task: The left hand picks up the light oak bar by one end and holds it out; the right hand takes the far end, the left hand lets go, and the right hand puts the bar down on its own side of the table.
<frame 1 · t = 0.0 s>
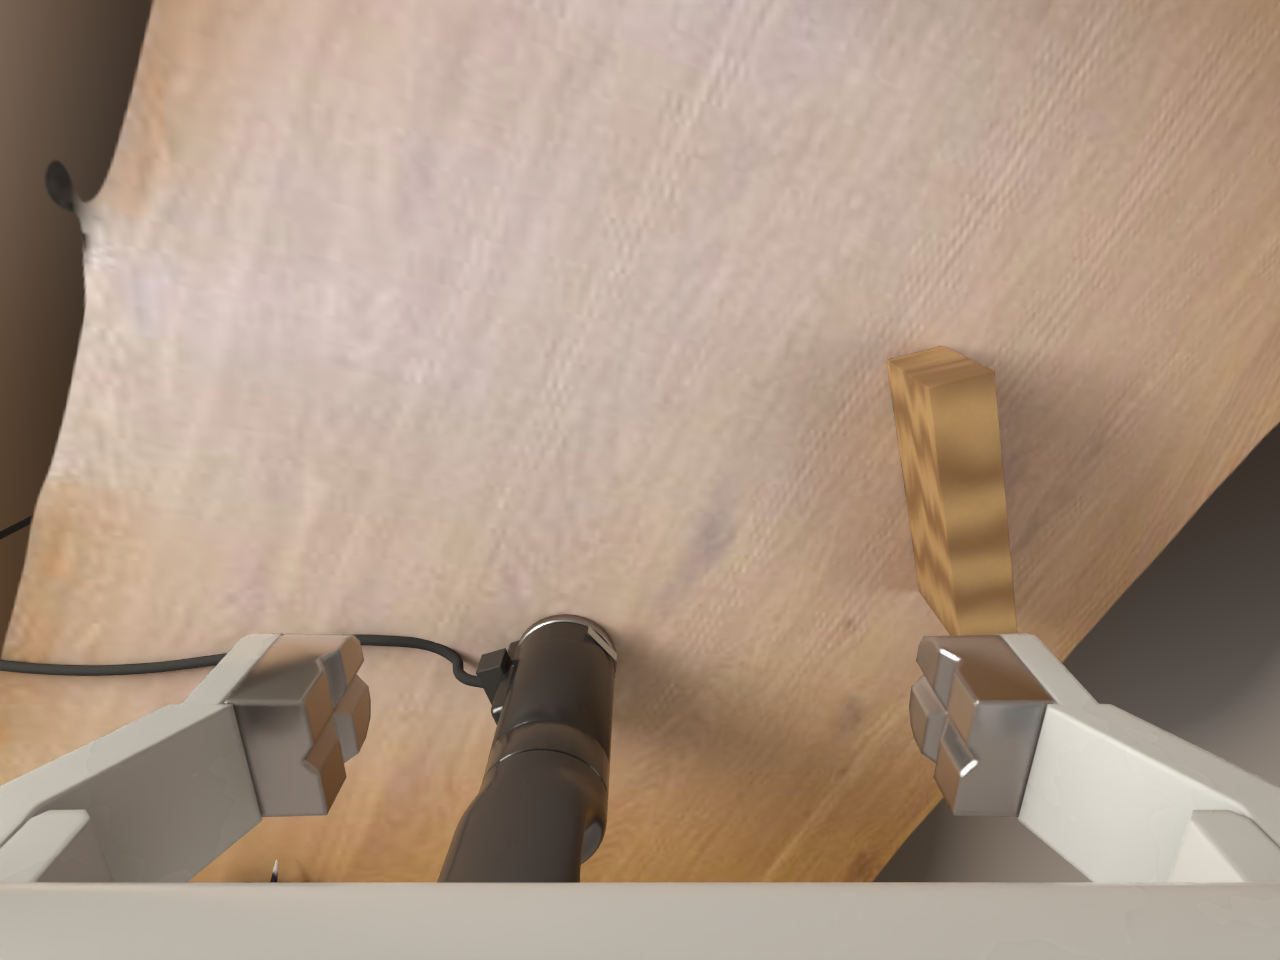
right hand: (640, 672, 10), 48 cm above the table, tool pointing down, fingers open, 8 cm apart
bar: (930, 477, 61), on the table
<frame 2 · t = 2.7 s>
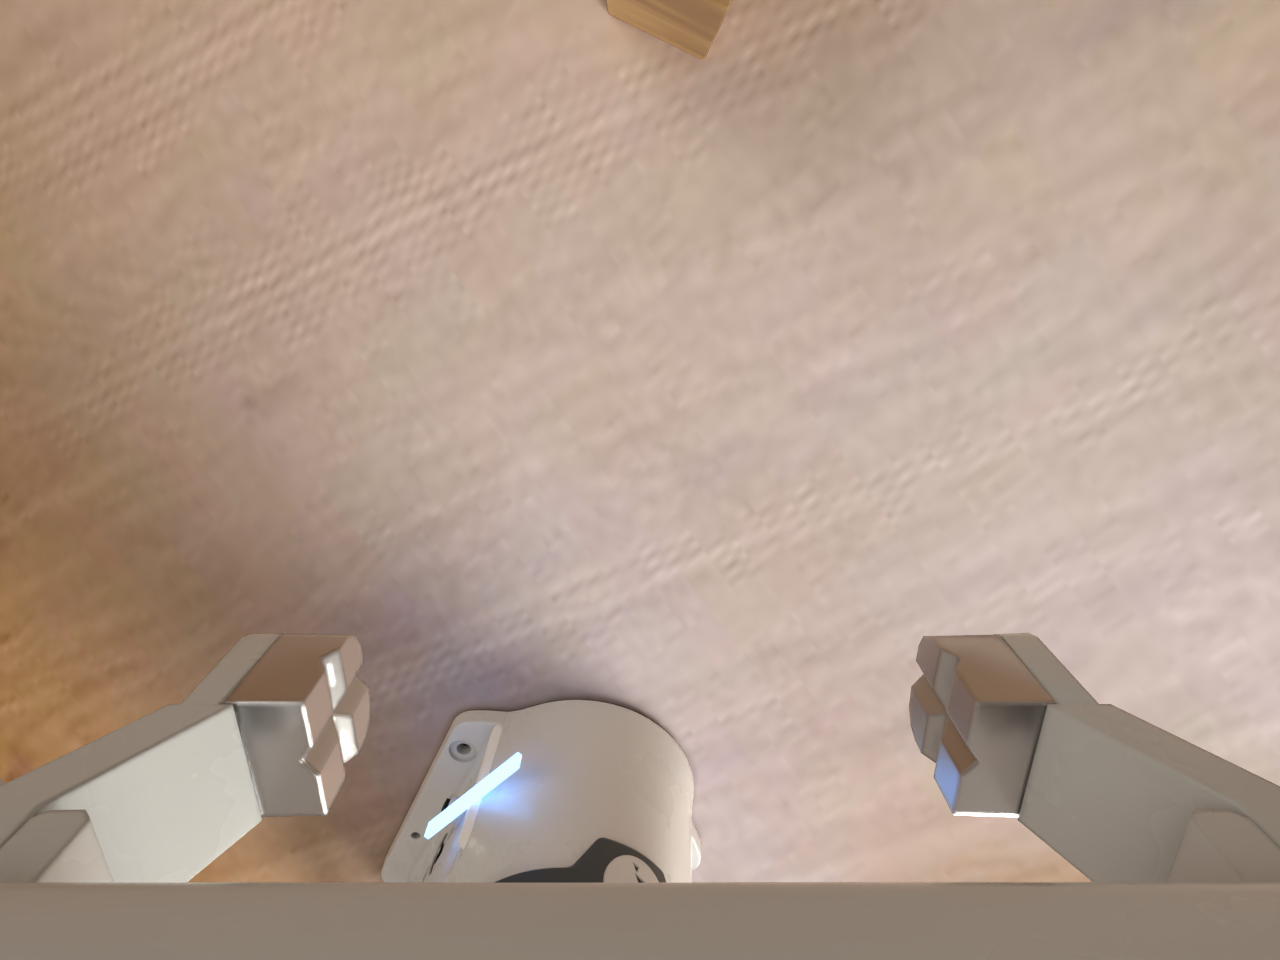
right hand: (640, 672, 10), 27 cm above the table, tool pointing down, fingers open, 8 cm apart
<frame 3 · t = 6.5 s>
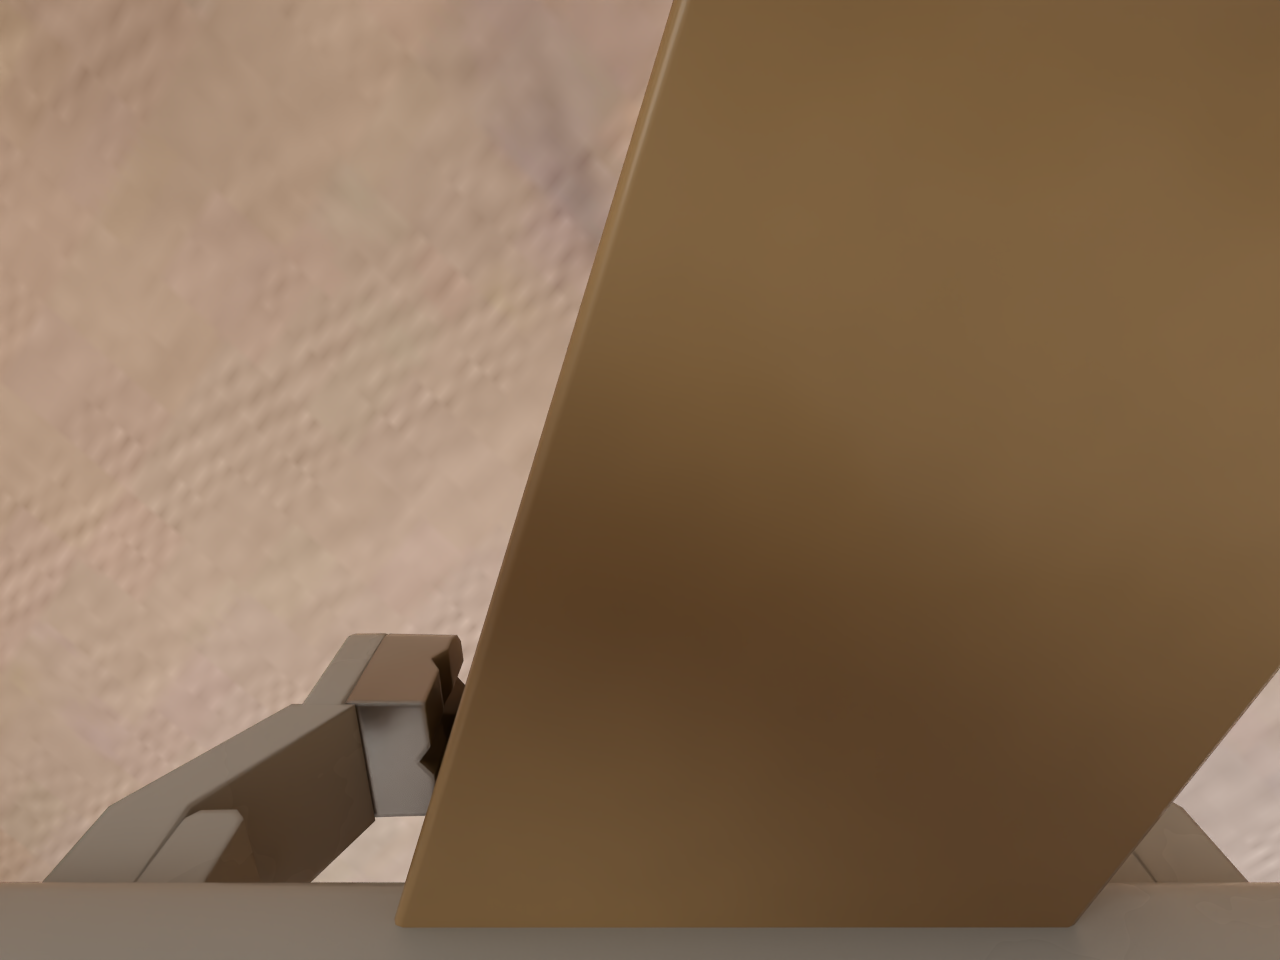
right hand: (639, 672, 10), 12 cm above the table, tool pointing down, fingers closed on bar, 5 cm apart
bar: (794, 157, 11), point 8 cm above the table, touching right hand, left hand
when the left hand's fingers open (12 cm above the table, at t = 7.5 s): bar stays where it is, held by the right hand.
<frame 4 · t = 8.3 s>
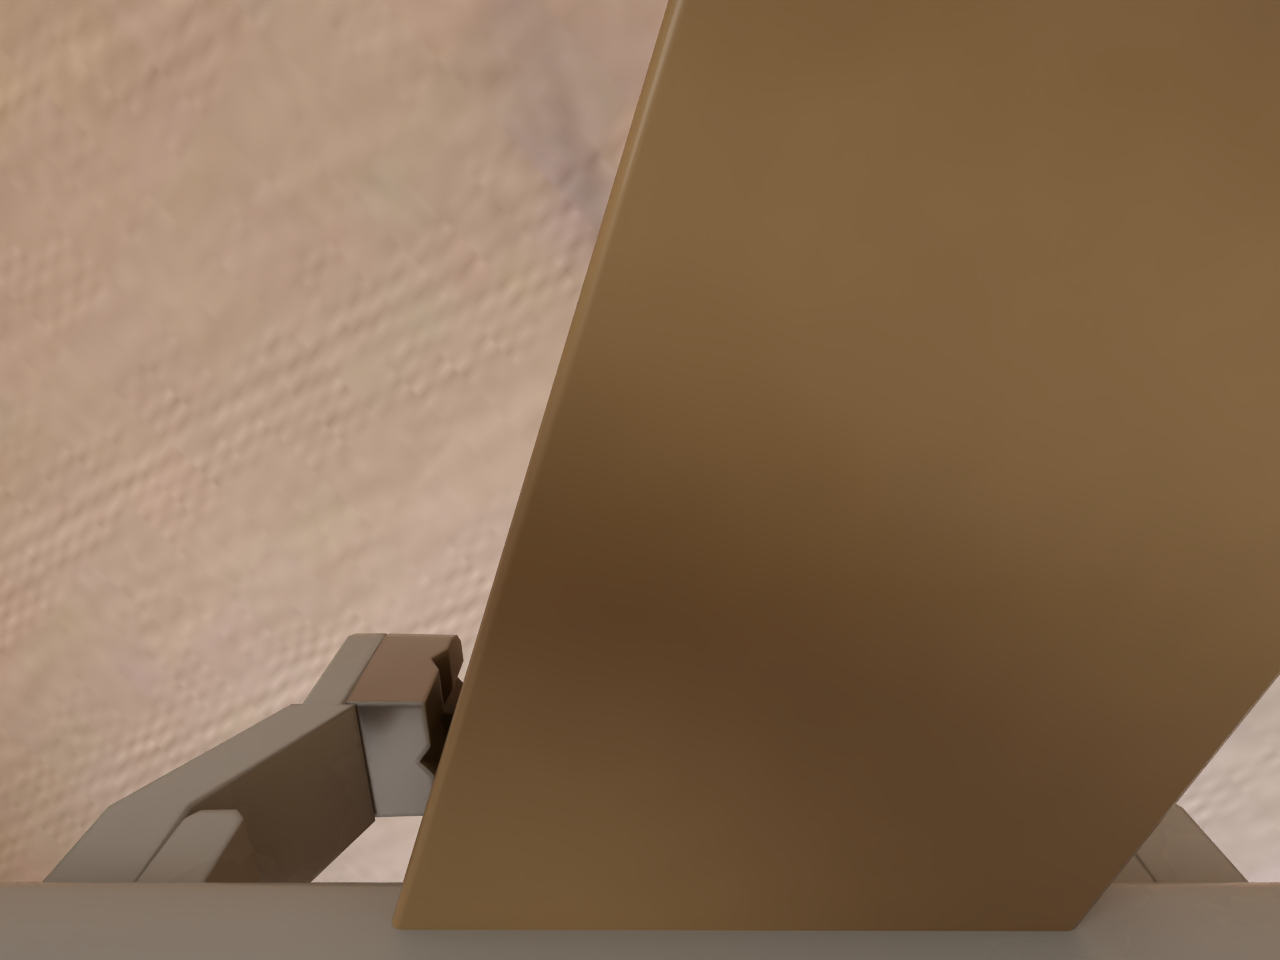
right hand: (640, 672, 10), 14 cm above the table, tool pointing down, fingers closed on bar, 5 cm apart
bar: (795, 157, 11), point 11 cm above the table, touching right hand
when the right hand's fingers open (5 cm above the table, at t = 12.3 s): bar stays where it is, on the table.
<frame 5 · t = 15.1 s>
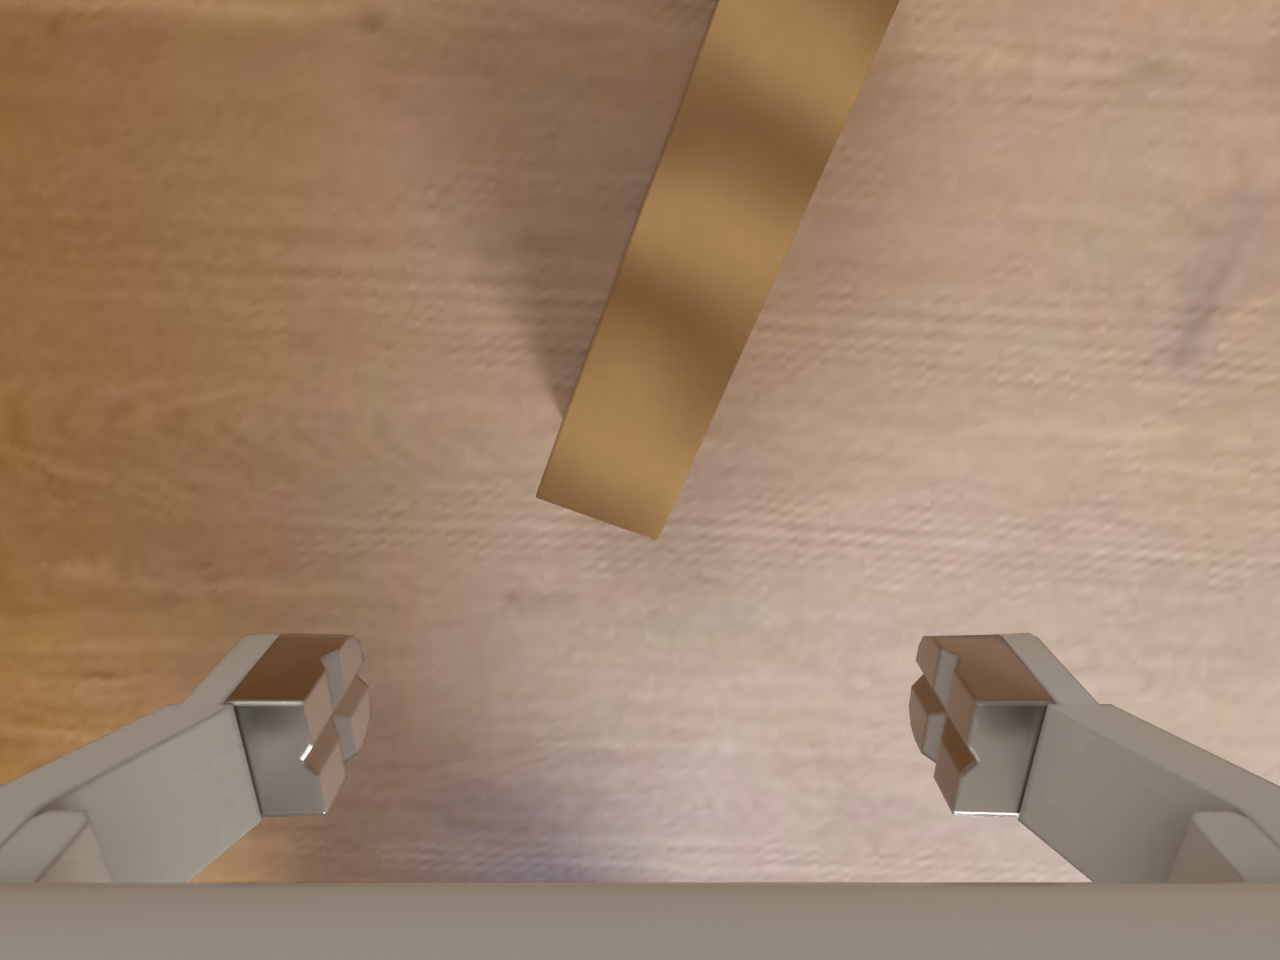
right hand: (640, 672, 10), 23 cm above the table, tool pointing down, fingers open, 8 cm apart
bar: (702, 199, 29), on the table
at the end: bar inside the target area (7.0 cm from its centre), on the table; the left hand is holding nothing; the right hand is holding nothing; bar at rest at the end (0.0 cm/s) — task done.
